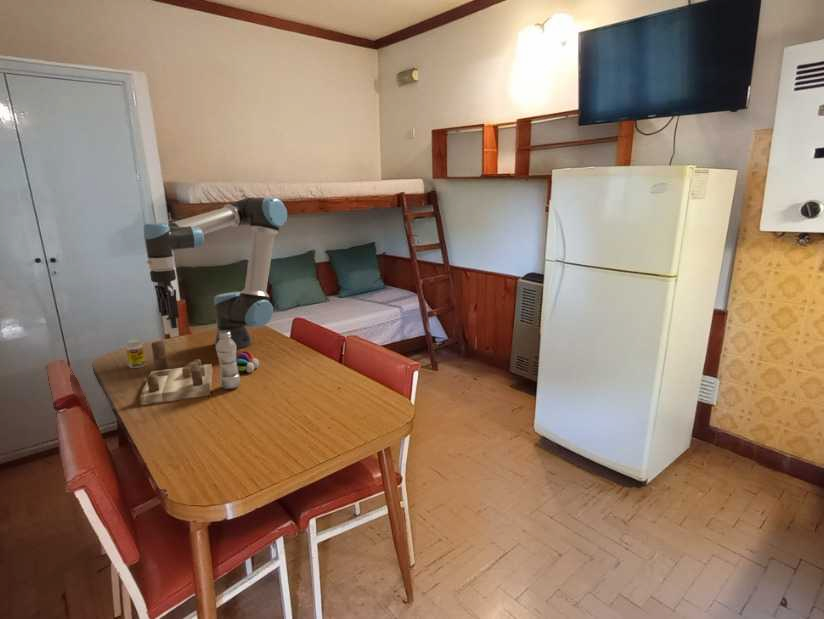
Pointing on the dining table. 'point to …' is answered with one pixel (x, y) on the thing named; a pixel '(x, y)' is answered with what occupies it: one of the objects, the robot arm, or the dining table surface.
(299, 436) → the dining table surface
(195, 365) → the folding leg
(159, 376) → the board
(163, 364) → the loose leg
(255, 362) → the multicoloured ball
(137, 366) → the supplement bottle
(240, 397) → the dining table surface
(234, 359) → the plastic bottle
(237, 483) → the dining table surface
